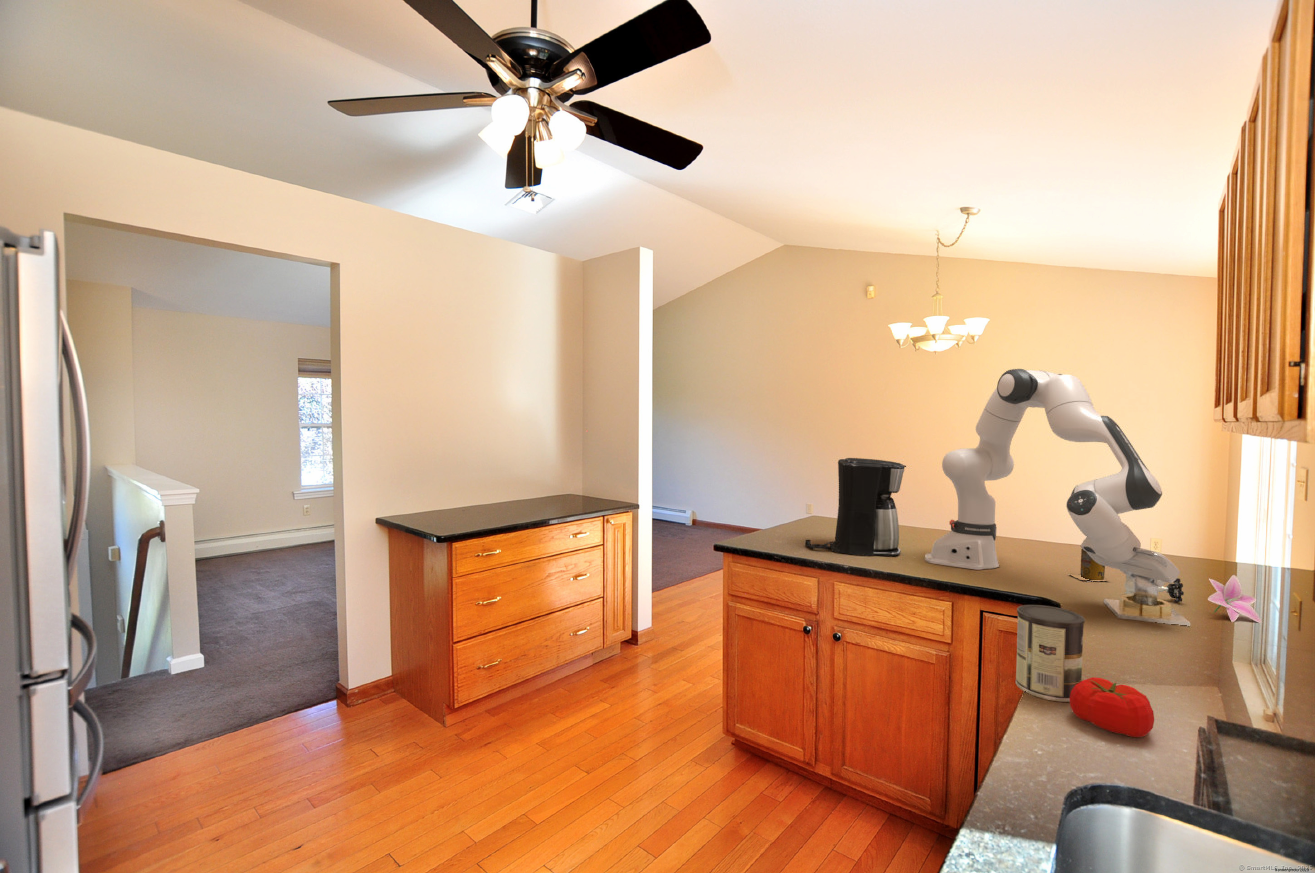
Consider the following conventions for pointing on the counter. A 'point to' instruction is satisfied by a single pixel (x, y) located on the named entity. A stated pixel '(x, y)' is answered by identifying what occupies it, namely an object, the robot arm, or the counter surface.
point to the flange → (1145, 611)
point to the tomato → (1112, 707)
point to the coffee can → (1049, 651)
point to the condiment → (1091, 568)
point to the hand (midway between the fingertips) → (1148, 581)
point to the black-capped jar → (1144, 590)
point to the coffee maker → (866, 508)
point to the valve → (1159, 589)
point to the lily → (1233, 599)
